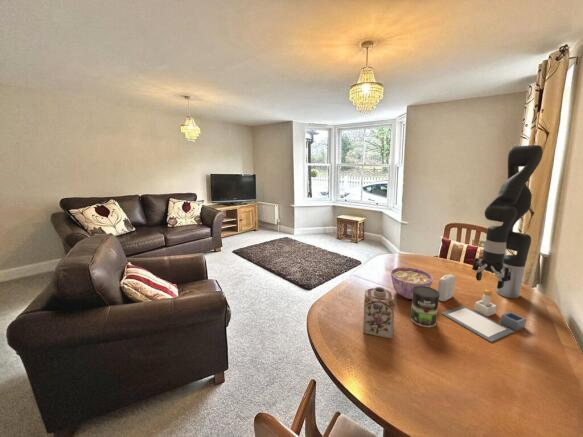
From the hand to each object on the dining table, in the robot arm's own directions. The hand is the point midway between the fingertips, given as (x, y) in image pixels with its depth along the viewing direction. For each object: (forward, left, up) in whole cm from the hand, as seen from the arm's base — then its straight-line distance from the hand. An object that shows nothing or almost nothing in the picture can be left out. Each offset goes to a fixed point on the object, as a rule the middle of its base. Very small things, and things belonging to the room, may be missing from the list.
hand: (488, 284), depth 115 cm
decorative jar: (+53, -11, -14) cm, 56 cm away
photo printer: (+5, -16, -14) cm, 22 cm away
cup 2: (0, +11, -14) cm, 18 cm away
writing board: (+12, +3, -14) cm, 19 cm away
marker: (0, 0, -14) cm, 14 cm away
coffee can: (+31, -7, -14) cm, 35 cm away
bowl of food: (+19, -25, -14) cm, 35 cm away
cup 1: (0, 0, -14) cm, 14 cm away
